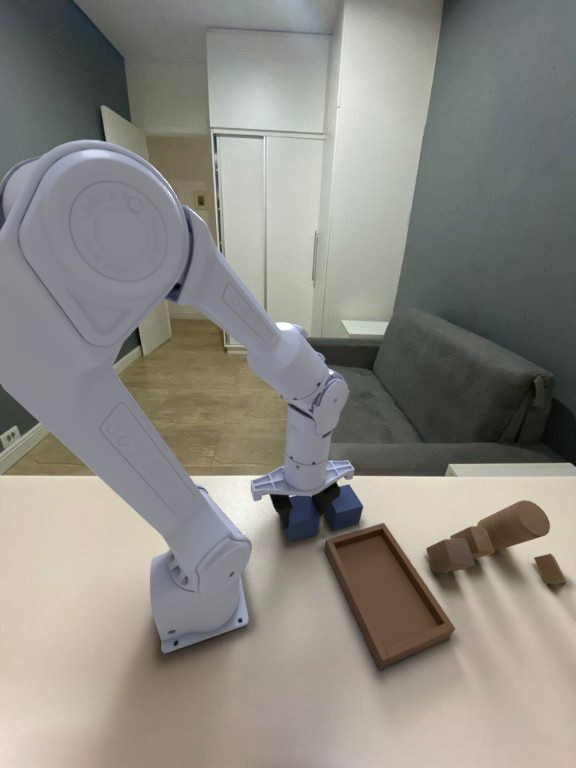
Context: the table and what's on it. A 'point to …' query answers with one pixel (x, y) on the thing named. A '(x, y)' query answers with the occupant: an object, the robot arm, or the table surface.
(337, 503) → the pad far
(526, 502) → the wooden block set
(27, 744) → the table surface
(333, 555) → the frame
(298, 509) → the blue cube
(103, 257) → the robot arm
